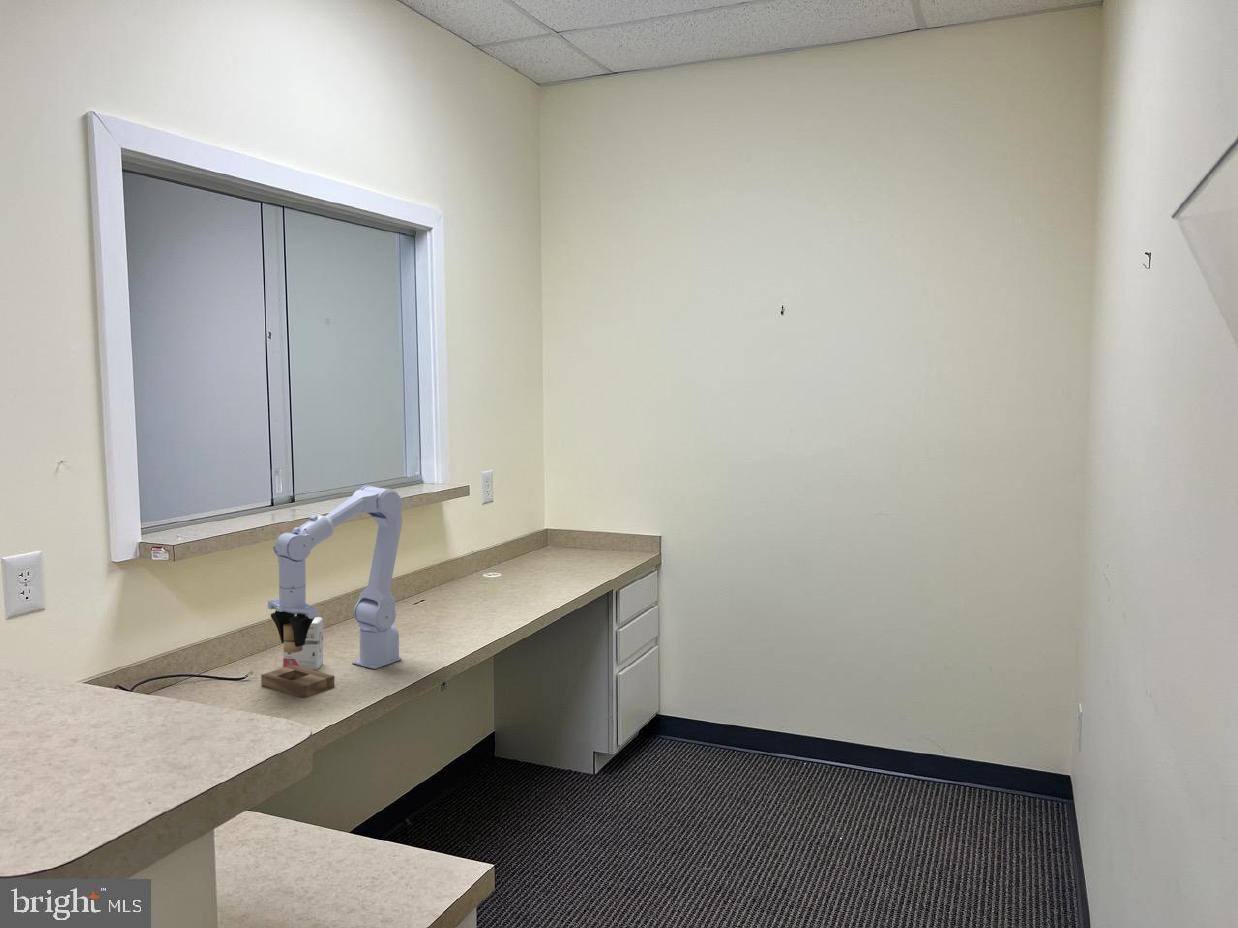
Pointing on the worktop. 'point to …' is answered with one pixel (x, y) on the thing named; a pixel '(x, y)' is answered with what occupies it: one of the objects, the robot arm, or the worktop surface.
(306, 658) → the ink box
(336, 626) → the worktop surface
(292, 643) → the peg
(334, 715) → the worktop surface
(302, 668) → the board
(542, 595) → the worktop surface
